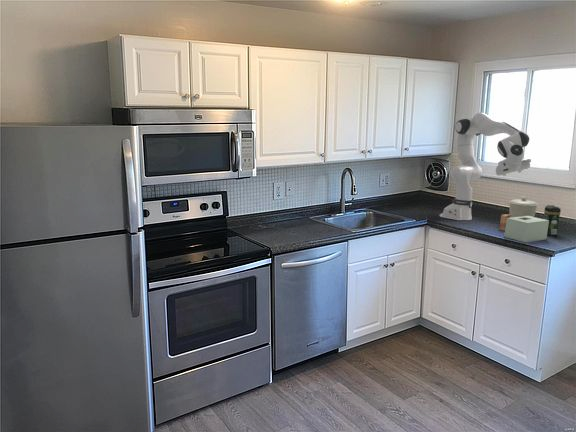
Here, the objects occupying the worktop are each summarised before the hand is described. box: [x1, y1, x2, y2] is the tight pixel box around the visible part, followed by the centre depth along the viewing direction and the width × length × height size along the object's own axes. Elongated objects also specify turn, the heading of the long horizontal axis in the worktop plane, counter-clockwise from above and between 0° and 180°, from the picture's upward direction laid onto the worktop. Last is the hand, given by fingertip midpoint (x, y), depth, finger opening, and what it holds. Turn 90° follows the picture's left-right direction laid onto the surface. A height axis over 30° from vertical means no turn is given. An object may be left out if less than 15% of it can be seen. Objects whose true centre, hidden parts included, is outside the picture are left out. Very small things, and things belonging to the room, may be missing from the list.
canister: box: [508, 195, 539, 218], centre depth 315 cm, size 18×18×21 cm
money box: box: [503, 216, 549, 243], centre depth 284 cm, size 20×14×12 cm
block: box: [498, 214, 511, 232], centre depth 306 cm, size 6×3×10 cm, turn 117°
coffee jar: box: [543, 204, 562, 236], centre depth 296 cm, size 10×8×19 cm
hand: (511, 173), depth 303 cm, fingers open, 8 cm apart
